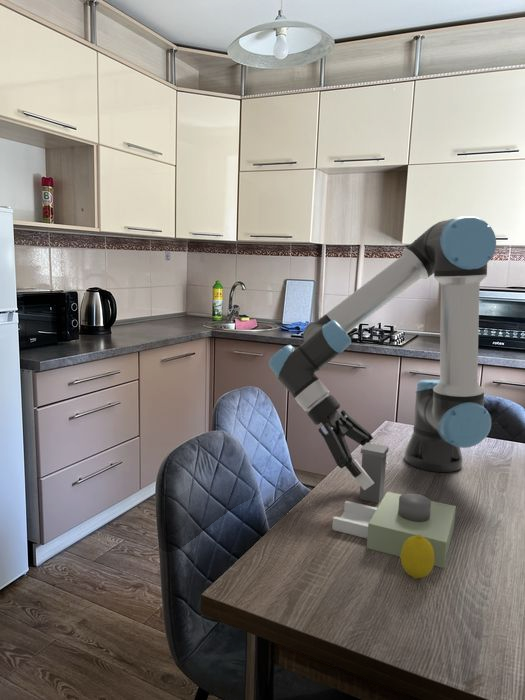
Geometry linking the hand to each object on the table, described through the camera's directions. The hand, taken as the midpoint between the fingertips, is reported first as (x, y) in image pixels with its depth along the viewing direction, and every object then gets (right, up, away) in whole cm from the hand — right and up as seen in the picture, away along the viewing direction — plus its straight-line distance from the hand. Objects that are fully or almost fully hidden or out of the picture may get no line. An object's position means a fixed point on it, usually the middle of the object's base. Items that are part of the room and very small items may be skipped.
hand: (377, 475), depth 120 cm
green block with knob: (0, -8, -15) cm, 17 cm away
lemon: (0, -11, -30) cm, 32 cm away
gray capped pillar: (-1, -5, +2) cm, 6 cm away
